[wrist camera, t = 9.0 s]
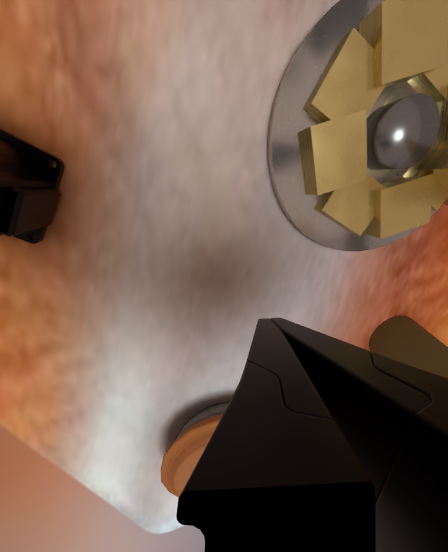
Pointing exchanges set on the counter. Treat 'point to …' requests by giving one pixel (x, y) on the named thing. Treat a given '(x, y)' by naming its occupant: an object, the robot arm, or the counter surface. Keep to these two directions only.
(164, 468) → the pie
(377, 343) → the olive pepper mill
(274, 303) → the counter surface
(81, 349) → the counter surface
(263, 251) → the counter surface
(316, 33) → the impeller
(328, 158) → the tan block ring
